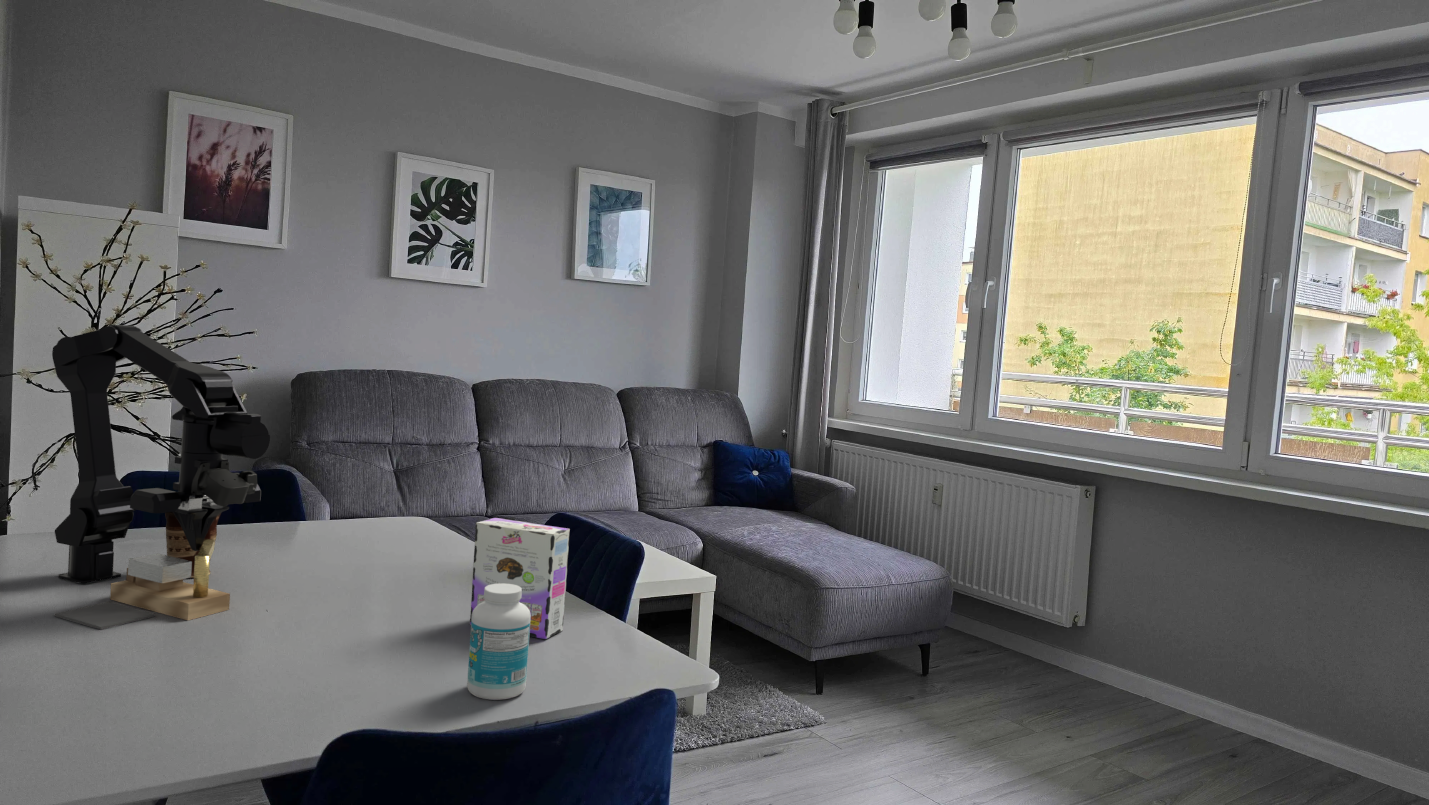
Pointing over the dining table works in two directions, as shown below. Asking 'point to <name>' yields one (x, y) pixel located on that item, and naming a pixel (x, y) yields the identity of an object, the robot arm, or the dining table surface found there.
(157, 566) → the grey flat block
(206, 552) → the latch lever
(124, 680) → the dining table surface
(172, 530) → the brown jar
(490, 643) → the pill bottle
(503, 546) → the candy box
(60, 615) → the mat
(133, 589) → the latch plate
